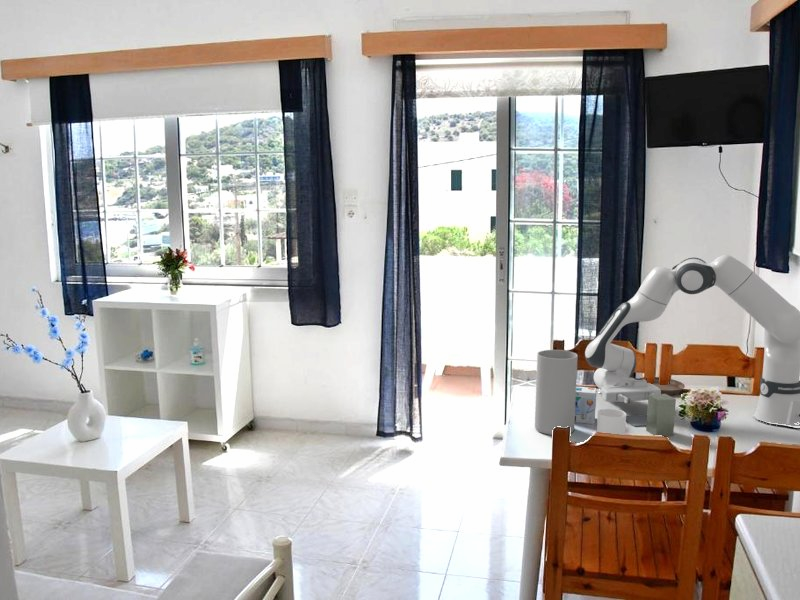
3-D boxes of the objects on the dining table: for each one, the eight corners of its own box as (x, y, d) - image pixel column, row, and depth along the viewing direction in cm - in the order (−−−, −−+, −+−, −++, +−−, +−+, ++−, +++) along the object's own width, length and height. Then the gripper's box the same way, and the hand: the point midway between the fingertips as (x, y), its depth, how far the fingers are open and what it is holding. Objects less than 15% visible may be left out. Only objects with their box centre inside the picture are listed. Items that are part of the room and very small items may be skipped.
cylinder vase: (527, 425, 243) (530, 351, 239) (561, 421, 247) (564, 348, 243) (546, 438, 231) (549, 360, 227) (581, 434, 235) (585, 357, 231)
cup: (600, 449, 222) (601, 417, 220) (590, 435, 234) (592, 404, 232) (627, 449, 222) (629, 417, 220) (616, 435, 234) (618, 405, 232)
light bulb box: (561, 421, 247) (562, 390, 246) (563, 415, 254) (564, 384, 252) (594, 424, 244) (596, 393, 243) (595, 418, 251) (596, 387, 249)
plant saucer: (692, 390, 284) (693, 383, 284) (670, 400, 272) (671, 392, 272) (650, 381, 297) (650, 374, 297) (627, 389, 285) (627, 382, 285)
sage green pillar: (663, 429, 240) (665, 393, 238) (673, 435, 234) (675, 399, 232) (646, 430, 239) (648, 394, 237) (655, 436, 233) (658, 400, 231)
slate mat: (646, 415, 254) (646, 414, 254) (662, 425, 244) (662, 423, 244) (619, 417, 252) (619, 416, 252) (634, 426, 242) (634, 425, 242)
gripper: (594, 381, 258) (613, 392, 244) (648, 378, 262) (669, 389, 248) (593, 398, 259) (612, 410, 245) (647, 395, 263) (668, 407, 249)
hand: (641, 400), depth 247 cm, fingers open, 8 cm apart
